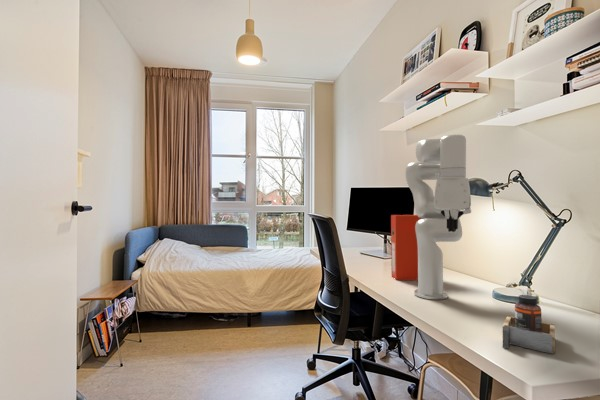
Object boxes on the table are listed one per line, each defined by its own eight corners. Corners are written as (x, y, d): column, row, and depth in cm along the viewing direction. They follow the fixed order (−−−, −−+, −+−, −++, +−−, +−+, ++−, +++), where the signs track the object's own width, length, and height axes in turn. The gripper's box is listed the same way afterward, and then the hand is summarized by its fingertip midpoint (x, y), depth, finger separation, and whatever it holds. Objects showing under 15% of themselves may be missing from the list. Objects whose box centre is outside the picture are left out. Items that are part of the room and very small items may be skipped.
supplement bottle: (543, 337, 86) (542, 296, 86) (541, 344, 82) (540, 301, 82) (516, 331, 90) (516, 292, 90) (513, 338, 86) (513, 296, 86)
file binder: (391, 276, 162) (391, 214, 163) (424, 276, 162) (424, 214, 163) (396, 280, 154) (395, 215, 155) (431, 280, 154) (430, 215, 155)
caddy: (507, 329, 93) (507, 315, 93) (554, 338, 86) (554, 324, 86) (502, 341, 85) (502, 326, 85) (554, 353, 78) (554, 337, 78)
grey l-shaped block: (504, 341, 84) (504, 324, 84) (552, 352, 78) (552, 334, 78) (502, 347, 81) (502, 330, 81) (552, 359, 75) (552, 340, 75)
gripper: (424, 174, 102) (424, 230, 103) (476, 173, 93) (476, 234, 93) (431, 175, 108) (431, 228, 108) (481, 173, 98) (480, 231, 99)
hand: (452, 231), depth 101 cm, fingers closed
